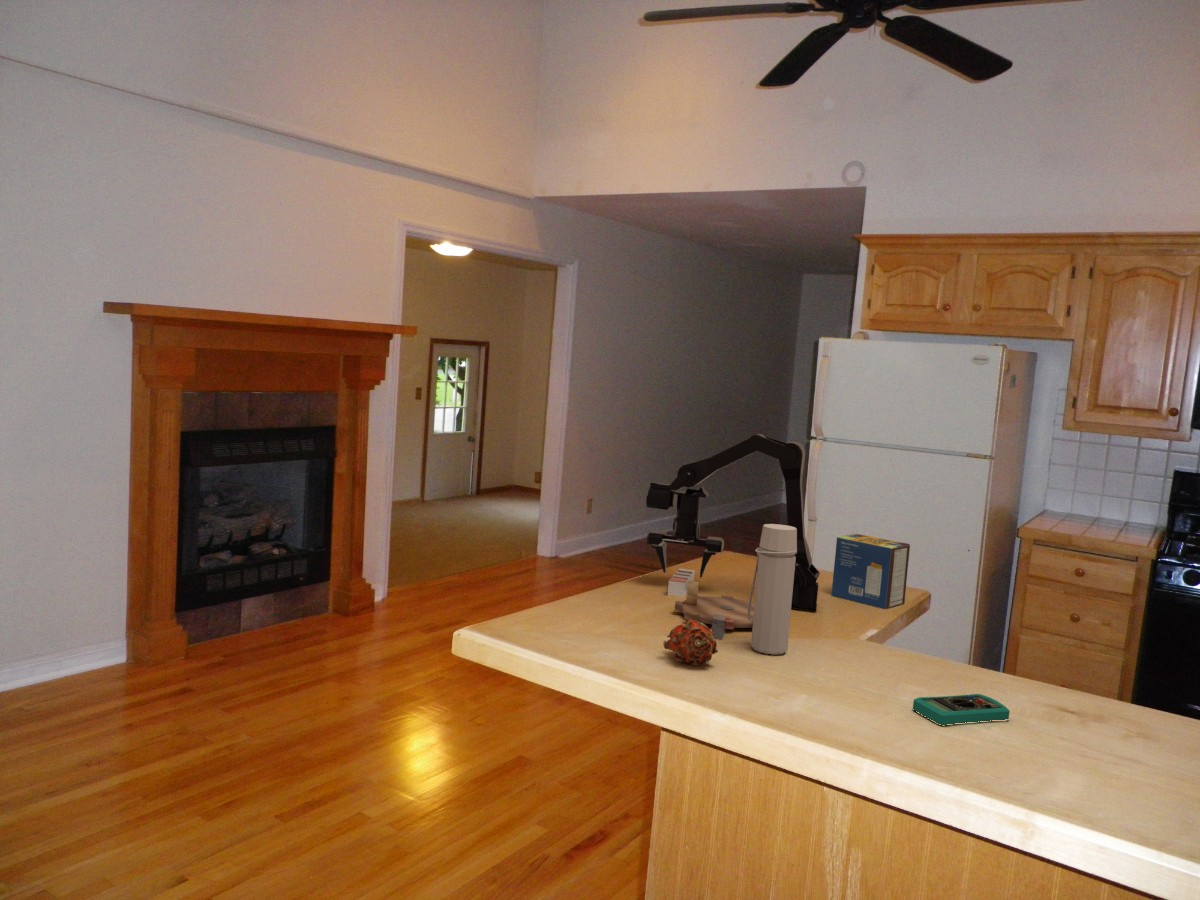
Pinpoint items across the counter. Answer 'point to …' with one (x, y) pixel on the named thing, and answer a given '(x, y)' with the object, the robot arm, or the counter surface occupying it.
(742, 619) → the flat round disc
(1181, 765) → the counter surface
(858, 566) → the protein box
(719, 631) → the pointer
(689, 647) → the dragon fruit
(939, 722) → the digital multimeter
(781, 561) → the water bottle
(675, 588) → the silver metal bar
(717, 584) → the counter surface
